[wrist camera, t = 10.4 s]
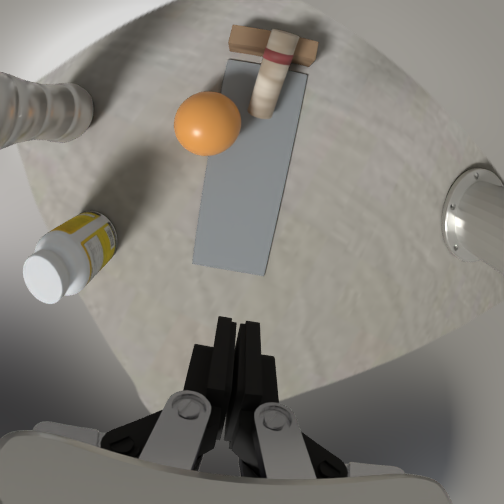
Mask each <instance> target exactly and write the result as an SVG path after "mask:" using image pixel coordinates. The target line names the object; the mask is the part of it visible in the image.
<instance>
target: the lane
mask: <svg viewBox="0 0 504 504" xmlns="http://www.w3.org/2000/svg"><path fill="white" fill-rule="evenodd" d="M260 66H261V65H259V64H254V63H248V62H242V61H235V60H228V61H227V66H226V70H225V75H224V79H223V84H222V89H221V93H220V94H223V95H225V96H227V97H228V98H229V99H231V100H232V101H233V102H234V104H235V105H236V106H237V108H238V110H239V113H240V116H241V129H240V133H239V135H238V137H237V139H236V141H235V142H234V143H233V145H232V146H231V147H229V148H228V149H227V150H225V151H224V152H222V153H219V154H216V155H212V156H208V161H207V167H206V173H205V179H204V185H203V191H202V198H201V204H200V211H199V218H198V225H197V232H196V239H195V246H194V254H193V262H192V264H197V265H202V266H208V267H214V268H219V269H225V270H231V271H237V272H243V273H249V274H255V275H261V276H264V273H265V269H266V265H267V260H268V256H269V252H270V247H271V243H272V238H273V234H274V230H275V225H276V221H277V216H278V212H279V207H280V203H281V198H282V194H283V189H284V184H285V180H286V175H287V171H288V166H289V161H290V157H291V152H292V147H293V143H294V138H295V133H296V128H297V124H298V119H299V114H300V109H301V104H302V100H303V95H304V90H305V85H306V80H307V75H305V74H301V73H297V72H293V71H287V74H286V77H285V80H284V83H283V86H282V88H281V91H280V94H279V97H278V100H277V103H276V106H275V109H274V112H273V115H272V118H270V119H261V118H257V117H254V116H252V115H251V114H249V113H248V111H247V110H248V107H249V103H250V100H251V96H252V93H253V90H254V86H255V83H256V79H257V76H258V73H259V69H260Z"/></svg>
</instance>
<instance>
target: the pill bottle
mask: <svg viewBox="0 0 504 504" xmlns="http://www.w3.org/2000/svg"><path fill="white" fill-rule="evenodd" d="M116 248H117V234H116V231H115V228H114V226H113V225H112V223H111V222H110V221H109V219H108V218H107V217H105V216H104V215H102V214H101V213H98V212H94V211H87V212H83V213H81V214H79V215H77V216H75V217H74V218H72V219H70V220H68V221H67V222H65V223H63V224H61V225H60V226H58V227H56V228H55V229H53V230H51V231H50V232H48V233H47V234H45V235H44V236H43V237H42V238H41V239H40V240H39V242H38V243H37V245H36V248H35V253H34V254H32V255H31V256H30V257H28V258H27V260H26V261H25V263H24V267H23V276H24V280H25V283H26V285H27V287H28V289H29V290H30V292H31V293H32V294H33V295H34V296H35V297H36V298H37V299H38V300H40V301H42V302H44V303H47V304H53V303H56V302H58V301H59V300H60V299H61V298H62V297H63V296H64V295H74V294H76V293H78V292H80V291H81V290H82V289H83V288H84V287H85V286H86V285H87V284H88V283H89V282H90V281H91V280H92V278H93V277H94V276H95V275H96V274H97V273H98V272H99V271H100V270H101V269H102V268H103V267H104V266H105V265H106V264H107V263H108V261H109V260H110V259H111V258H112V257H113V255H114V254H115V251H116Z"/></svg>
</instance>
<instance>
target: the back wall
mask: <svg viewBox="0 0 504 504" xmlns="http://www.w3.org/2000/svg"><path fill="white" fill-rule="evenodd" d="M270 34H271V31H269V30H263V29H258V28H252V27H245V26H238V25H233V26H232V30H231V34H230V38H229V42H228V43H229V48H230V51H231V52H238V53H245V54H251V55H256V56H262V57H263V54H264V51H265V48H266V46H267V44H268V40H269V37H270ZM318 43H319V42H316V41H313V40H309V39H305V38H301V37H299V40H298V43H297V45H296V48H295V51H294V56H293V58H292V61H291V63H295V64H299V65H303V66H307V67H309V66H310V65H311V64H312V63H313V62H314V61H315V58H316V53H317V48H318Z"/></svg>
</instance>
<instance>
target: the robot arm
mask: <svg viewBox="0 0 504 504" xmlns="http://www.w3.org/2000/svg"><path fill="white" fill-rule="evenodd" d="M442 232H443V237H444V241H445V243H446V245H447V248H448V249H449V250H450V252H451V253H452V254H453V255H454V256H456V257H457V258H458V259H460V260H462V261H465V262H475V261H479V260H482V261H484V262H485V263H487V264H488V265H489V266H491V267H492V268H494V269H495V270H497V271H498V272H499V273H501V274H502V275H504V186H503V184H502V182H501V180H500V179H499V178H498V176H497V175H496V174H494V173H493V172H492V171H489V170H487V169H482V168H473V169H470V170H468V171H466V172H464V173H463V174H462V175H460V177H459V178H458V179H457V180H456V181H455V182H454V184H453V185H452V187H451V188H450V191H449V193H448V195H447V197H446V201H445V204H444V208H443V214H442ZM235 337H236V323H235V322H232V318H227V317H221V316H219V317H218V323H217V329H216V335H215V341H214V347H209V346H204V345H198V344H195V345H194V348H193V352H192V356H191V360H190V365H189V369H188V373H187V377H186V381H185V385H184V390H183V391H179V392H176V393H174V394H173V395H171V396H170V398H169V399H168V401H167V403H166V405H165V407H164V409H163V410H161V411H158V412H156V413H154V414H151V415H149V416H146V417H144V418H142V419H139V420H137V421H134V422H132V423H129V424H126V425H124V426H121V427H118V428H116V429H113V430H111V431H109V432H107V433H100V432H98V430H96V429H89V428H83V427H76V426H70V425H65V424H59V423H54V422H46V421H44V422H41V423H38V424H37V425H36V426H35V427H34V429H33V431H27V430H24V431H15V432H10V433H8V434H6V435H5V436H3V437H2V438H1V439H0V504H452V501H451V499H450V498H449V496H448V494H447V492H446V491H445V489H444V488H443V487H442V485H441V484H440V483H438V482H437V481H435V480H433V479H431V478H428V477H424V476H419V475H413V474H405V473H404V471H403V470H401V469H400V468H398V467H394V466H383V465H372V464H363V463H355V462H350V463H349V464H344V463H343V462H342V461H341V460H340V459H339V458H337V457H336V456H334V455H333V454H332V453H330V452H329V451H327V450H326V449H324V448H323V447H322V446H320V445H319V444H317V443H316V442H315V441H313V440H312V439H310V438H309V437H308V436H306V435H305V434H304V433H302V432H301V430H300V427H299V425H298V421H297V418H296V416H295V414H294V412H293V411H292V410H291V409H290V408H288V407H287V406H285V405H283V404H280V403H279V399H278V388H277V377H276V367H275V358H274V356H268V355H261V339H260V323H258V322H251V321H246V323H245V324H240V328H239V332H238V337H237V341H236V346H235ZM225 417H226V424H225V437H224V440H225V441H229V449H232V451H233V452H234V453H235V454H236V455H237V456H238V457H239V460H238V463H239V469H240V475H241V477H238V476H228V475H220V474H212V473H205V472H199V471H198V470H199V468H200V465H201V462H202V459H203V454H205V453H207V452H208V451H210V450H212V449H213V448H214V446H215V442H216V440H220V438H221V434H222V430H223V426H224V421H225Z"/></svg>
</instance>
